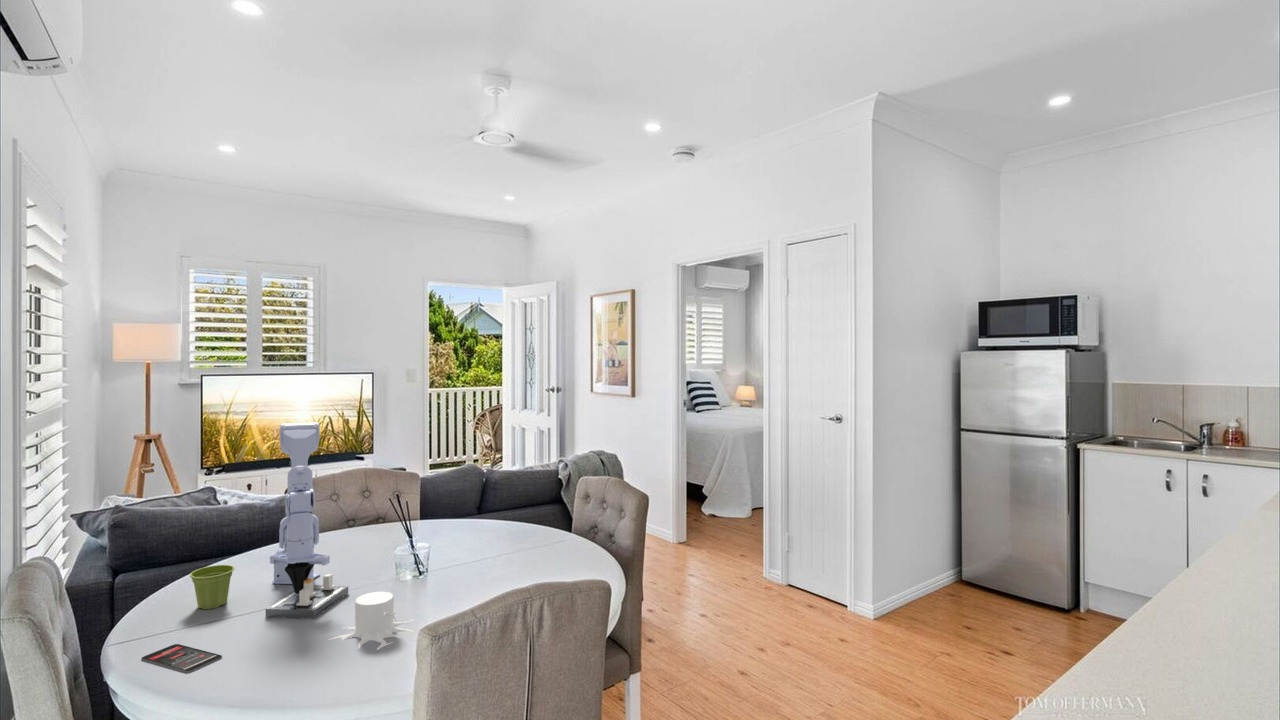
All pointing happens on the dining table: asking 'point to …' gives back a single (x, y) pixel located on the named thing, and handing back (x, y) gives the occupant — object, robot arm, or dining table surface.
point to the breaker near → (304, 597)
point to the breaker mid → (309, 586)
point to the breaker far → (327, 582)
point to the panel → (319, 604)
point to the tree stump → (374, 619)
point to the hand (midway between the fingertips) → (299, 592)
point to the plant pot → (212, 585)
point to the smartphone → (181, 658)
